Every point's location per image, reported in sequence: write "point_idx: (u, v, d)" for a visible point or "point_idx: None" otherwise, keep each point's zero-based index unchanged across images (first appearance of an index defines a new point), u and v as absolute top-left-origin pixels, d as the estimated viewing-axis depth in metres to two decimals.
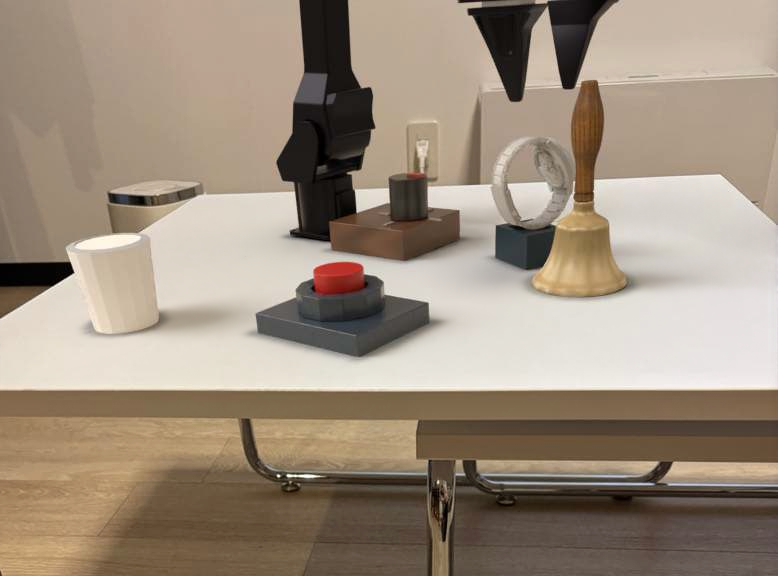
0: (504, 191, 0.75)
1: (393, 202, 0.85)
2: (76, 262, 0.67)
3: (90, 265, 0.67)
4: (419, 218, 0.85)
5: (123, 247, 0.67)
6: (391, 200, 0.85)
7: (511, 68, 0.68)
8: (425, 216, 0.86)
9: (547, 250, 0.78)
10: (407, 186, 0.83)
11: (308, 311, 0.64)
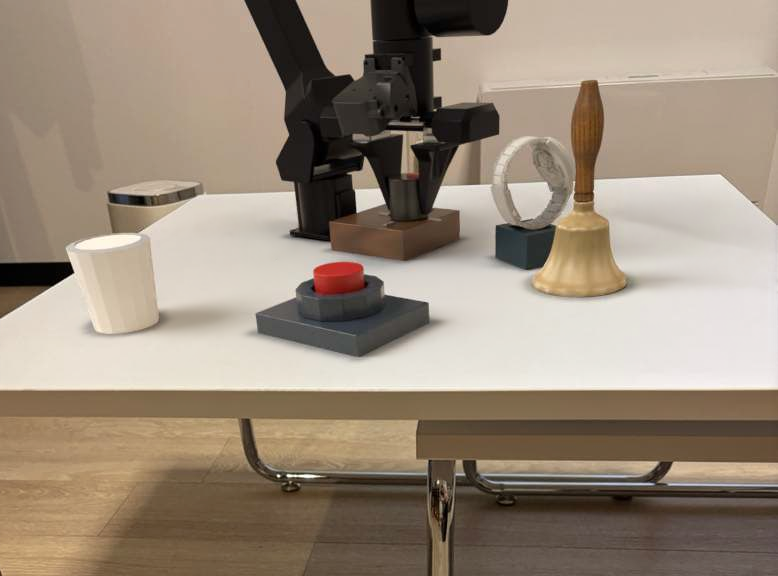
0: (504, 191, 0.75)
1: (393, 202, 0.85)
2: (76, 262, 0.67)
3: (90, 265, 0.67)
4: (419, 218, 0.85)
5: (123, 247, 0.67)
6: (391, 200, 0.85)
7: None
8: (425, 216, 0.86)
9: (547, 250, 0.78)
10: (407, 186, 0.83)
11: (308, 311, 0.64)
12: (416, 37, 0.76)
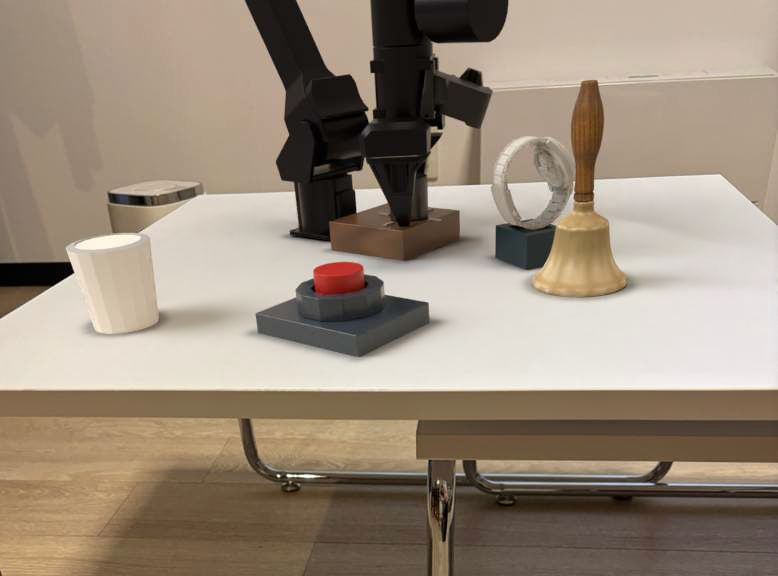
0: (504, 191, 0.75)
1: (426, 199, 0.85)
2: (76, 262, 0.67)
3: (90, 265, 0.67)
4: None
5: (123, 247, 0.67)
6: (424, 198, 0.85)
7: (402, 201, 0.81)
8: None
9: (547, 250, 0.78)
10: None
11: (308, 311, 0.64)
12: None
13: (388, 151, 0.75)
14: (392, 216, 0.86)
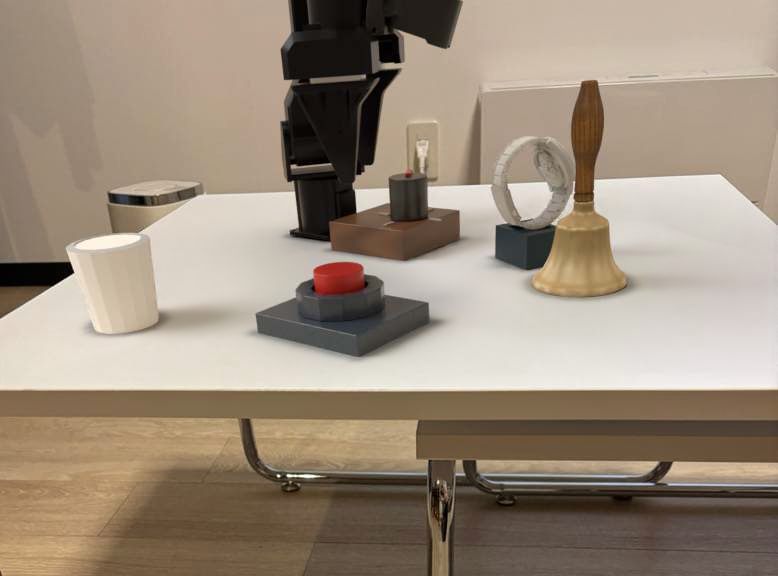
0: (504, 191, 0.75)
1: (426, 199, 0.85)
2: (76, 262, 0.67)
3: (90, 265, 0.67)
4: None
5: (123, 247, 0.67)
6: (424, 198, 0.85)
7: (343, 148, 0.61)
8: None
9: (547, 250, 0.78)
10: None
11: (308, 311, 0.64)
12: None
13: (319, 70, 0.55)
14: (392, 216, 0.86)
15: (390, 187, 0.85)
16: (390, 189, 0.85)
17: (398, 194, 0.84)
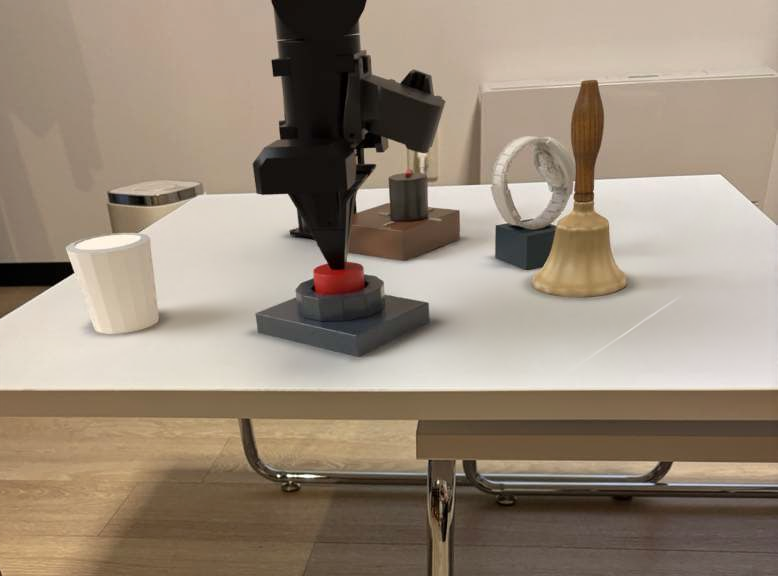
0: (504, 191, 0.75)
1: (426, 199, 0.85)
2: (76, 262, 0.67)
3: (90, 265, 0.67)
4: None
5: (123, 247, 0.67)
6: (424, 198, 0.85)
7: (333, 238, 0.63)
8: None
9: (547, 250, 0.78)
10: None
11: (308, 311, 0.64)
12: None
13: (293, 186, 0.53)
14: (392, 216, 0.86)
15: (390, 187, 0.85)
16: (390, 189, 0.85)
17: (398, 194, 0.84)
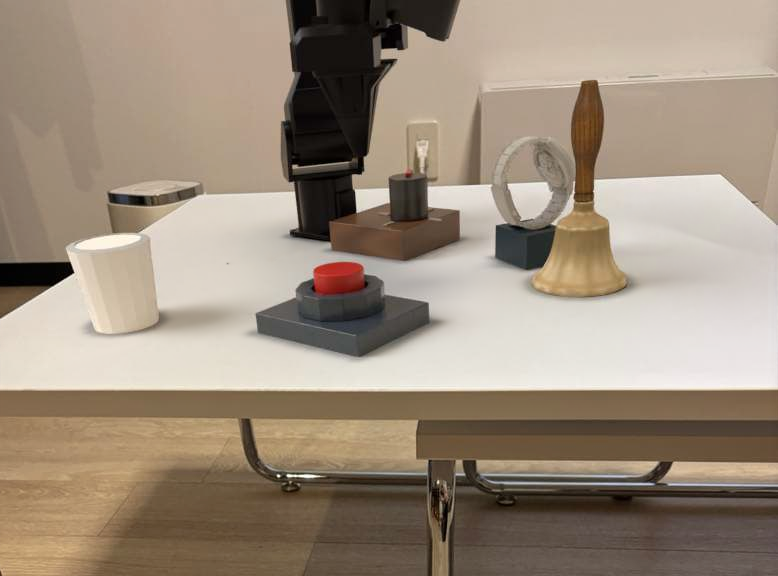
0: (504, 191, 0.75)
1: (426, 199, 0.85)
2: (76, 262, 0.67)
3: (90, 265, 0.67)
4: None
5: (123, 247, 0.67)
6: (424, 198, 0.85)
7: (357, 125, 0.69)
8: None
9: (547, 250, 0.78)
10: None
11: (308, 311, 0.64)
12: None
13: (325, 63, 0.60)
14: (392, 216, 0.86)
15: (390, 187, 0.85)
16: (390, 189, 0.85)
17: (398, 194, 0.84)
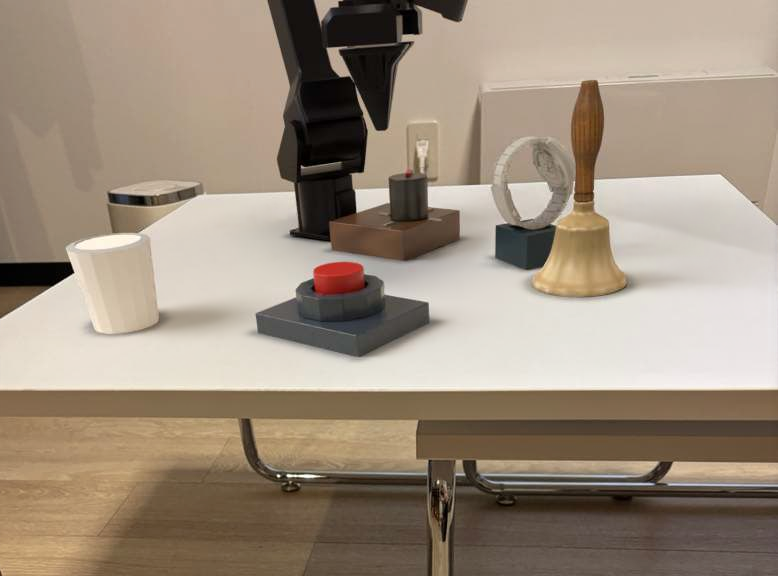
0: (504, 191, 0.75)
1: (426, 199, 0.85)
2: (76, 262, 0.67)
3: (90, 265, 0.67)
4: None
5: (123, 247, 0.67)
6: (424, 198, 0.85)
7: (378, 101, 0.76)
8: None
9: (547, 250, 0.78)
10: None
11: (308, 311, 0.64)
12: None
13: (353, 39, 0.66)
14: (392, 216, 0.86)
15: (390, 187, 0.85)
16: (390, 189, 0.85)
17: (398, 194, 0.84)
